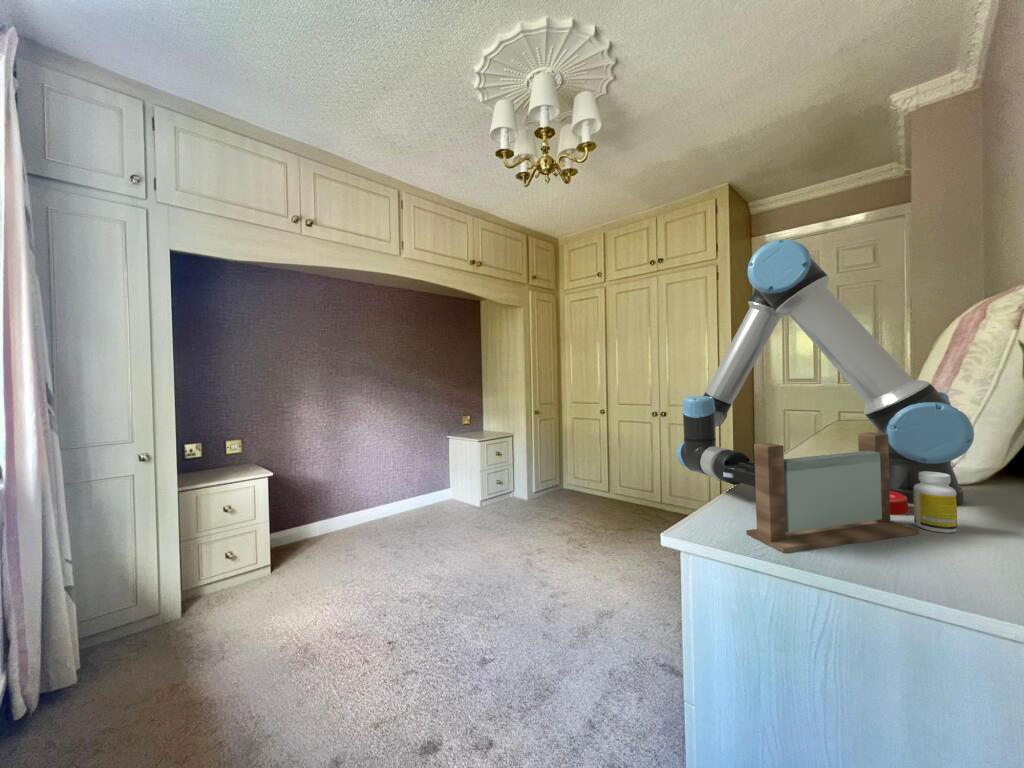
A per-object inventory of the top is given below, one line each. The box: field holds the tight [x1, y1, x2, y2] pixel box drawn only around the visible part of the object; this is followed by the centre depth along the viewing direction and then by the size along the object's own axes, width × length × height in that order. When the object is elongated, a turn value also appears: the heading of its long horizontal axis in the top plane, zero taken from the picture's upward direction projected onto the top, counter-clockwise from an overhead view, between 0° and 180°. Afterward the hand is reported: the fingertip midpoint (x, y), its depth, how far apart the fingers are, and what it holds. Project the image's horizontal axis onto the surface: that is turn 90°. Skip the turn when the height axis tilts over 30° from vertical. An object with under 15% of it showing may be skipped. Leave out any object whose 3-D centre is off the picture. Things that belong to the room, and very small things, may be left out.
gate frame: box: [745, 432, 920, 553], centre depth 73 cm, size 27×8×17 cm, turn 101°
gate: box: [784, 451, 882, 533], centre depth 73 cm, size 20×2×12 cm, turn 102°
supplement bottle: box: [913, 471, 958, 534], centre depth 74 cm, size 5×5×10 cm
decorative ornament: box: [890, 491, 909, 516], centre depth 86 cm, size 10×10×3 cm
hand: (817, 492), depth 74 cm, fingers closed
